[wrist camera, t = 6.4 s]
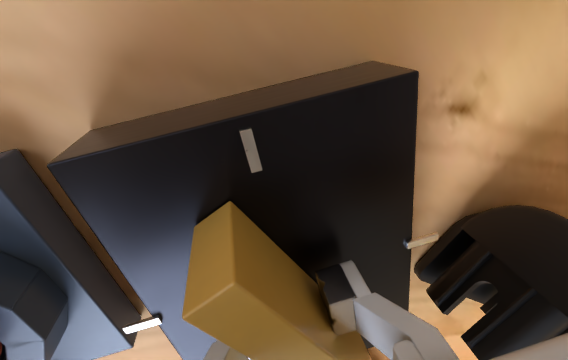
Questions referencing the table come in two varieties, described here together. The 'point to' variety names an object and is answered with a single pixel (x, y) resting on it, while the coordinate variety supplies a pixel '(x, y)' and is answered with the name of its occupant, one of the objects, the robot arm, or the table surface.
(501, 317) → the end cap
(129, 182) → the rotary switch
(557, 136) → the table surface
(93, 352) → the button box
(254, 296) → the rotary switch knob
